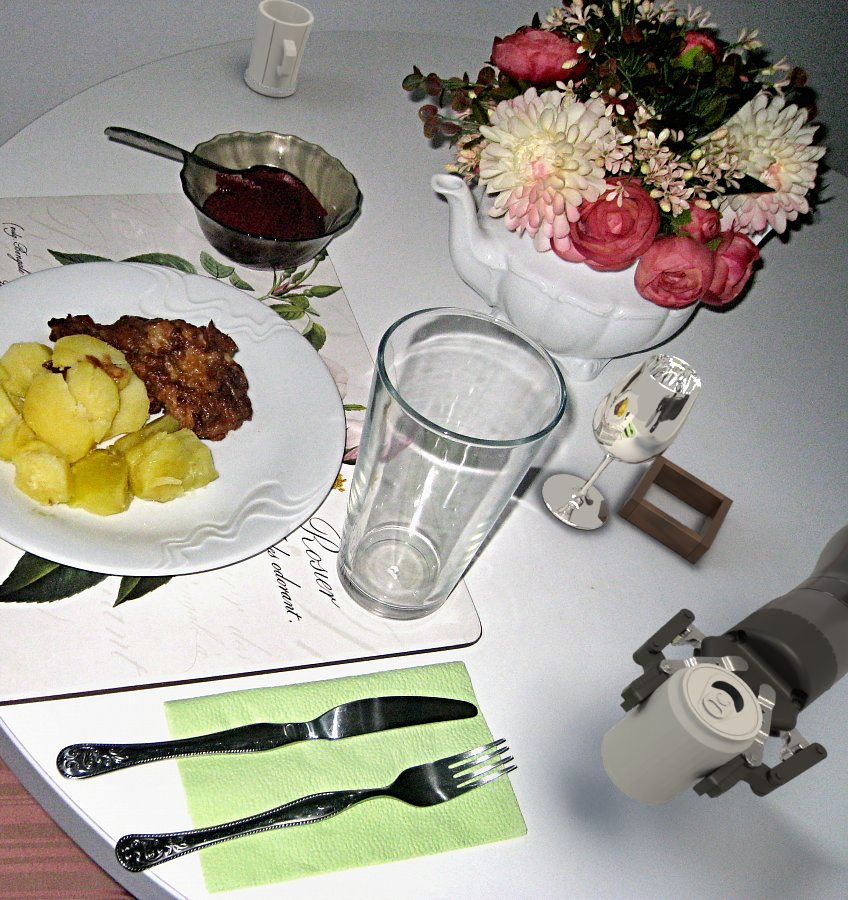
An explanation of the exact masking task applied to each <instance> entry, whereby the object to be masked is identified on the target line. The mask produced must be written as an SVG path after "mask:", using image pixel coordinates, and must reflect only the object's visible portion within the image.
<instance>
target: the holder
mask: <svg viewBox="0 0 848 900" xmlns="http://www.w3.org/2000/svg"><path fill="white" fill-rule="evenodd" d="M653 483H655V484H656V485H658V486H659V487H661V488H663V489H664V490H665V491H667V492H668V493H671V494H672V495H674V496H675V497H677V498H678V499H680V500H682V501H683V502H684V503H686V504H688V505H689V506H690V507H692V508H694V509H695V510H697V511H699V512H700V513H702V514H703V515H705V516H707V517H706V519H705V521H704V522H703V525H702V526H701V528H700V530H699V532H698V533H697V532H696V531H695V530H692V529H691V528H690V527H688V526H686V525H685V524H684V523H682V522H680V520H677V519H676V518H674V517H673V516H671V515H669V514H668V513H666V512H665V511H663V510H662V509H660V508H659V507H657V506H656V505H655V504H653V503H651V502H650V501H648V500H647V499H645V498H644V497H645V496H646V494H647V492H648V490H649V489H650V487H651V485H652V484H653ZM733 503H734V500H733V499H731V498H730V497H728V496H727V495H725V494H723V492H721V491H720V490H718V489H716V488H715V487H713V486H711V485H710V484H709V483H706V481H703V480H701V479H700V478H698V477H697V476H695V475H693V474H692V473H690V472H689V471H687V470H686V469H684V468H682V467H681V466H679V465H678V464H676V463H674V462H673V461H672V460H669V459H668V458H666V457H665V456H663V454H662V455H661V456H659V457H658V458H656V459H654V460H652V461H651V463H650V464H649V465H648V467H646V469H645V470H644V472H643V473H642V475H641V477H640V478H639V480H638V481H637V483H636V484H635V486H634V487H633V489H632V491H631V492H630V493H629V495H628V497H627V498H626V500H625V502H624V503H623V504H622V506H621V508H620V509H619V511H618V512H617V514H618V515H619V516H620V517H622V518H623V519H624V520H626V521H628V522H630V523H631V524H633V525H634V526H636V527H637V528H639V529H640V530H641V531H643V532H644V533H646V534H648V535H649V536H651V537H653V538H654V539H656V540H657V541H658V542H660V543H662V544H663V545H665V546H666V547H668V548H669V549H670V550H672V551H673V552H675V553H677V554H678V555H680V556H681V557H683V558H684V559H685V560H686V561H688V562H690V563H692V564H694V565H695V564H696V563H697V562H698V561H699V560H700V559H701V558H702V557H703V556H704V555H705V554H706V553H707V552H708V551H709V550H710V549H711V546H712V545H713V544H714V541H715V539H716V537H717V535H718V533H719V531H720V529H721V528H722V525H723V524H724V521H725V519H726V517H727V515H728V513H729V511H730V509H731V507H732V506H733Z"/></svg>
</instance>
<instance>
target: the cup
mask: <svg viewBox="0 0 848 900" xmlns="http://www.w3.org/2000/svg"><path fill="white" fill-rule="evenodd" d="M256 15H257V17H256V23H255V30H254V31H255V32H254V37H253V44H252V50H251V55H250V59H249V64H248V66H249V74H250V76H251V77H252V78H253V79H254V80H256V81H257V82H259V85H260V84H262V86H263V85H265V86H263V87H266V86H267V88H269V87H273V88H272V89H274V88H282V87H283V88H284V87H287V86H289V85H292V84H293V83H294V82H295V80H296V78H297V76H298V73H299V69H300V66H301V61H302V58H303V55H304V51H305V49H306V45H307V42H308V40H309V37H310V33H311V30H312V28H313V24H314V21H315V17H314V14H313V13H312V12H311V11H310V10H309V9H307V8H306V7H305V6H302V5H301V4H298V3H296V2H294V1H290V0H263V1H262V0H261V2H259V4H258V8H257V14H256ZM243 77H244V81H245V83H246V84H247V86H248V87H249V88H250V89H252V91H254V92H256V93H257V94H260V95H263V96H267V97H270V98H286V97H290V96H291V95H293V94H294V93H295V92H293V91H291V92H287V93H274V92H269V91H266V90H263V89H260V88H258V87H256V86H254V85H253V84H251V83H250V82H249V81H248V80H247V78H246V77H245V74H244V76H243ZM250 79H251V78H250ZM254 82H255V81H254ZM269 89H271V88H269Z"/></svg>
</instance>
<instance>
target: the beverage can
mask: <svg viewBox="0 0 848 900" xmlns="http://www.w3.org/2000/svg"><path fill="white" fill-rule="evenodd" d="M761 726H762V711H761V707H760V705H759V702H758V700H757V698H756V696H755V695H754V693H753V692H752V690H751V689H750V688H749V687H748V685H747V684H746V683H745V682H744V681H743V680H742V679H740V678H739V677H738V676H737V675H735V674H734V673H733V672H731V671H729V670H727V669H725V668H723V667H721V666H718V665H714V664H709V663H701V664H697V665H694V666H692V667H686V668H683V669H680V670H678V671H677V672H676V673H674V674H673V675H672V676H671V677H670V678H669V679H668V680H666V681H665V682H664V683H663V684H662V685H661V686H659V687H658V688H657V689H656V690H655V691H654V692H653V693H652V694H650V695H649V696H648V697H647V698H646V699H645V700H644V701H642V702H641V703H640V704H639V705H637V706H636V707H634V708H633V709H631V710H630V711H629V712H627V713H626V715H624V716H623V717H622V718H621V719H620V720H619V721H618V722H617V723H616V724H614V725H613V726H612V727H610V729H609V730H608V731H607V732H606V733H605V734H604V736H603V738H602V740H601V745H600V757H601V762H602V764H603V766H604V770H605V772H606V774H607V776H608V777H609V779H610V780H611V782H612V783H613V784H614V785H615V786H616V787H617V788H618V789H619V790H620V791H621V792H622V793H623V794H625V796H627V797H629V798H630V799H632V800H634V801H636V802H638V803H641V804H644V805H650V806H659V805H665V804H668V803H669V802H671V801H672V800H674V799H675V798H676V797H678V796H679V795H681V794H683V793H684V792H686V791H687V790H688V789H690V788H692V787H694V786H695V785H696V784H697V783H699V782H700V781H701V780H702V779H704V778H705V777H706V776H707V775H709V774H710V773H712V772H713V771H715V770H716V769H718V768H719V767H721V766H722V765H724V764H725V763H727V762H728V761H730V760H731V759H733V758H734V757H736V756H737V755H739V754H740V753H742V752H743V751H745V750H746V749H747V748H749V747H750V746H751V745H752V744H753V742H754V740H755V737H756V734H757V733H758V732H759V731H760V729H761Z"/></svg>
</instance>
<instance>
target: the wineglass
mask: <svg viewBox="0 0 848 900" xmlns="http://www.w3.org/2000/svg"><path fill="white" fill-rule="evenodd" d="M702 388H703V381H702V379H701V377H700V375H699V373H698V372H697V371H696V370H695V368H693V366H691V365H690V364H689V363H688V362H687V361H685V360H683V359H681V358H679V357H677V356H674V355H672V354H667V353H662V352H661V353H659V352H658V353H652V354H651V355H649V356H647V357H646V358H645V359H644V360H643V361H642V362H640V363H639V364H638V365H636V366H635V367H634V368H633V369H632V370H631V371H629V372H628V373H627V374H626V375H625V376H624V377H623V378H621V380H619V381H618V382H617V383H616V384H615V385H614V386H613V387H612V388H611V389H610V390H609V391H608V393H606V395H605V396H604V397H603V398H602V399H601V401H600V402H599V403H598V405H597V407H596V408H595V410H594V413H593V418H592V423H591V426H592V427H591V428H592V433H593V438H594V440H595V442H596V445H598V447H599V449H600V450H601V452H603V453H604V456H603V458H602V459H601V461H600V463H599V464H598V465H597V467H596V468H595V470H593V472H592V473H591V475H590V476H589V477H588V478H587V480H585V479H583V478H581V477H578V476H576V475H572V474H565V473H561V474H560V473H559V474H555V475H552V476H550V477H548V478H546V480H545V481H544V483H543V485H542V490H541V493H542V499H543V501H544V503H545V505H546V507H547V508H548V509H549V511H550V513H552V514H553V515H554V516H555V517H556V518H557V519H558V520H560V521H562V522H563V523H565V524H566V525H568V526H571V527H573V528H576V529H579V530H595V529H598V528H600V527H602V526H603V525H604V524H605V523H606V522H607V520H608V518H609V507H608V503H607V501H606V499H605V498H604V496H603V495H602V494H601V492H600V491H599V490H598V489H597V488H596V487H595V486H594V483H595V482H596V481H597V480H598V478H599V477H600V475H602V473H603V472H604V471H605V470H606V468H607V467H608V466H609V465H610V464H611V463H612V462H613V461H616V462H619V463H623V464H628V465H640V464H646V463H649V462H653V461H654V459H656V458H658V457H659V456H661V455H662V456H663V455H664V454H665V453H666V452H667V451H668V450H669V449H670V447H671V446H672V445H673V444H674V442H675V440H676V439H677V438H678V437H679V435H680V434H681V432H682V430H683V428H684V426H685V424H686V422H687V421H688V419H689V416H690V414H691V412H692V410H693V408H694V406H695V403H696V401H697V399H698V396H699V395H700V392H701V390H702Z"/></svg>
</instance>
